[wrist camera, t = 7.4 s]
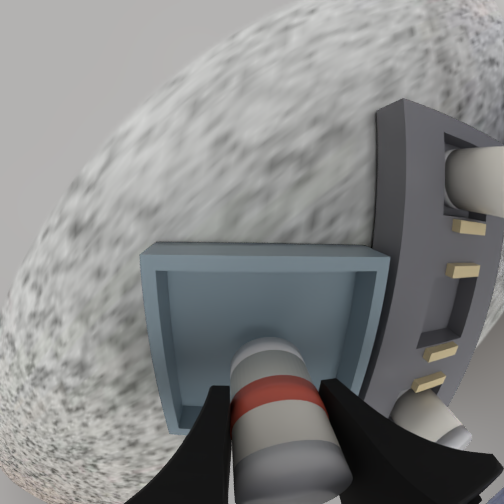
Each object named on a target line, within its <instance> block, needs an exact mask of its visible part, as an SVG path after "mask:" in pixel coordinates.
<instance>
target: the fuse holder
mask: <svg viewBox="0 0 504 504" xmlns="http://www.w3.org/2000/svg"><path fill="white" fill-rule="evenodd" d="M377 132H378V177H377V200H376V216H375V228H374V238H373V248H372V249H374V250H376V251H378V252H381V253H383V254H385V255H387V256H389V257H390V264H389V271H388V277H387V283H386V289H385V295H384V300H383V305H382V310H381V315H380V319H379V324H378V328H377V332H376V336H375V340H374V344H373V348H372V352H371V355H370V359H369V363H368V366H367V369H366V373H365V376H364V379H363V382H362V386H361V389H360V392H359V395H358V397H359V398H361V399H362V400H363V401H364V402H366V403H367V404H368V405H370V406H371V407H372V408H373V409H375V410H376V411H378V412H379V413H380V414H382V415H383V416H385V417H386V418H388V419H389V420H391V421H392V422H394V421H393V419H392V418H391V416H390V413H391V411H392V409H393V407H394V404H395V402H396V400H397V398H398V395H399V393H400V391H404V390H407V389H410V388H412V389H413V390H414V392H415V393H417V392H420V391H423V390H426V389H429V388H431V390H432V391H433V392H434V393H435V394H436V395H437V396H438V397H439V398H440V400H441V401H442V402H443V403H444V404H445V405H446V406H447V407H448V406H449V404H450V402H451V400H452V398H453V396H454V394H455V392H456V391H457V389H458V387H459V384H460V382H461V380H462V378H463V376H464V374H465V372H466V369H467V367H468V365H469V362H470V360H471V358H472V355H473V353H474V350H475V348H476V345H477V342H478V340H479V337H480V334H481V331H482V328H483V325H484V322H485V319H486V316H487V312H488V309H489V306H490V302H491V298H492V294H493V290H494V286H495V282H496V277H497V273H498V268H499V262H500V256H501V250H502V243H503V236H504V218H502V217H497V216H492V215H487V214H482V213H476V212H471V211H465V210H459V209H453V208H448V207H445V206H444V193H445V150H454V149H465V148H478V147H495V146H504V144H502V143H501V142H499V141H497V140H496V139H494V138H492V137H490V136H488V135H487V134H485V133H483V132H481V131H479V130H477V129H475V128H473V127H471V126H469V125H467V124H465V123H463V122H461V121H459V120H457V119H455V118H453V117H450V116H448V115H446V114H443V113H441V112H439V111H436V110H434V109H431V108H429V107H426V106H424V105H421V104H418V103H416V102H413V101H410V100H407V99H404V98H403V99H400V100H398V101H396V102H394V103H392V104H389V105H387V106H385V107H383V108H381V109H379V110H377ZM394 423H395V422H394Z"/></svg>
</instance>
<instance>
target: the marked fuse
mask: <svg viewBox="0 0 504 504" xmlns="http://www.w3.org/2000/svg"><path fill="white" fill-rule="evenodd" d="M230 393H231V403H230V414H231V421H230V437H231V440H232V454H233V475H234V495H235V503H236V504H323V503H325V502H327V501H329V500H331V499H333V498H335V497H337V496H338V495H340V494H341V493H342V492H344V491H345V490H346V489H347V488H348V487H349V486H350V484H351V483H352V480H353V476H352V474H351V471H350V469H349V466H348V464H347V462H346V459H345V457H344V455H343V452H342V450H341V447H340V445H339V443H338V440H337V438H336V436H335V433H334V431H333V428H332V426H331V424H330V421H329V415H328V413H327V410H326V408H325V406H324V403H323V401H322V399H321V396H320V394H319V392H318V390H317V388H316V387H315V386H314V384H313V381H312V379H311V377H310V374H309V372H308V370H307V367H306V365H305V363H304V360H303V358H302V356H301V353H300V351H299V350H298V348H297V347H296V346H295V345H294V344H293V343H291V342H289V341H287V340H285V339H282V338H278V337H262V338H258V339H254V340H252V341H250V342H248V343H246V344H244V345H243V346H241V347H240V348H239V349H238V350H237V351H236V352H235V354H234V355H233V357H232V360H231V363H230Z"/></svg>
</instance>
